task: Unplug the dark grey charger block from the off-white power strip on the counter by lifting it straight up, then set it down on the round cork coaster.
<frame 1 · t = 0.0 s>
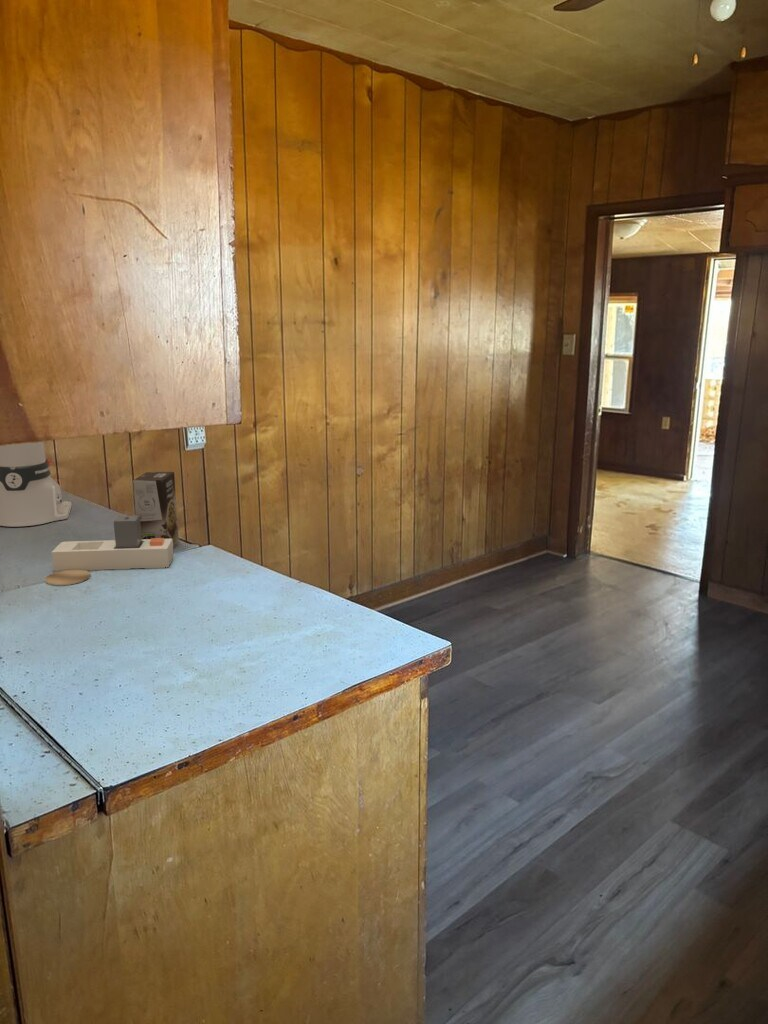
hand: (76, 297, 146), 52 cm above the countertop, tool tilted 20°, fingers open, 8 cm apart
coffee box: (159, 549, 162), on the countertop
power strip: (115, 563, 152), on the countertop
coaster: (68, 578, 143), on the countertop
charger: (129, 551, 152), point 2 cm above the countertop, touching power strip
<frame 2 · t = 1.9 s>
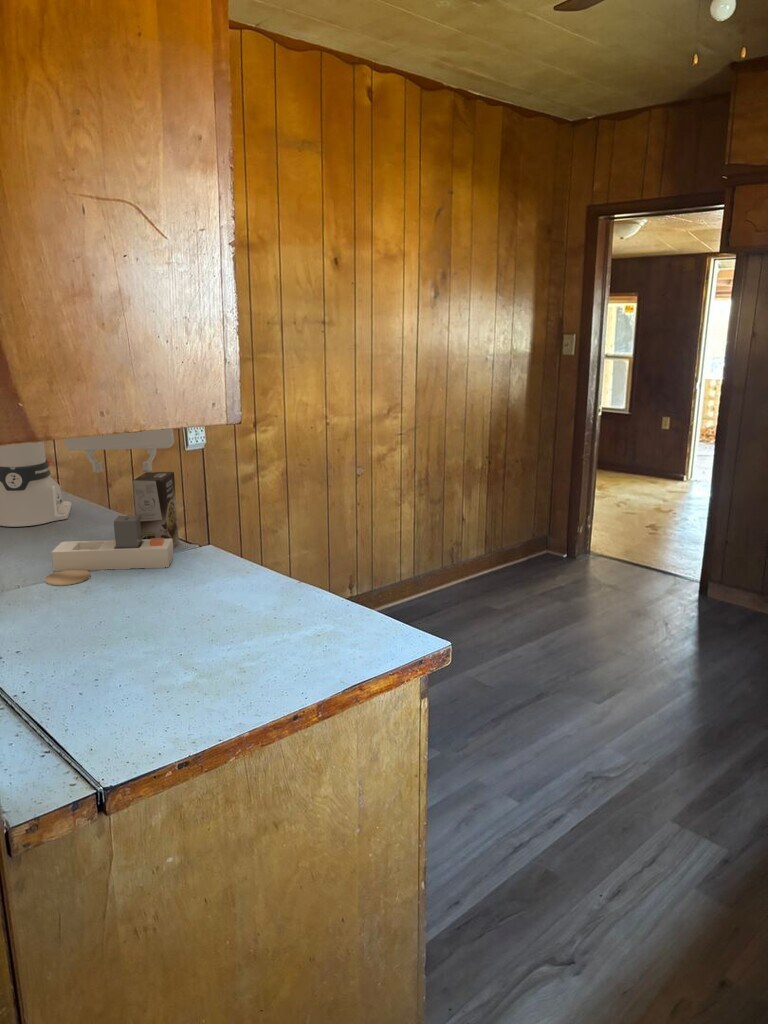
hand: (123, 471, 147), 19 cm above the countertop, tool pointing down, fingers open, 8 cm apart
nothing on the countertop moved.
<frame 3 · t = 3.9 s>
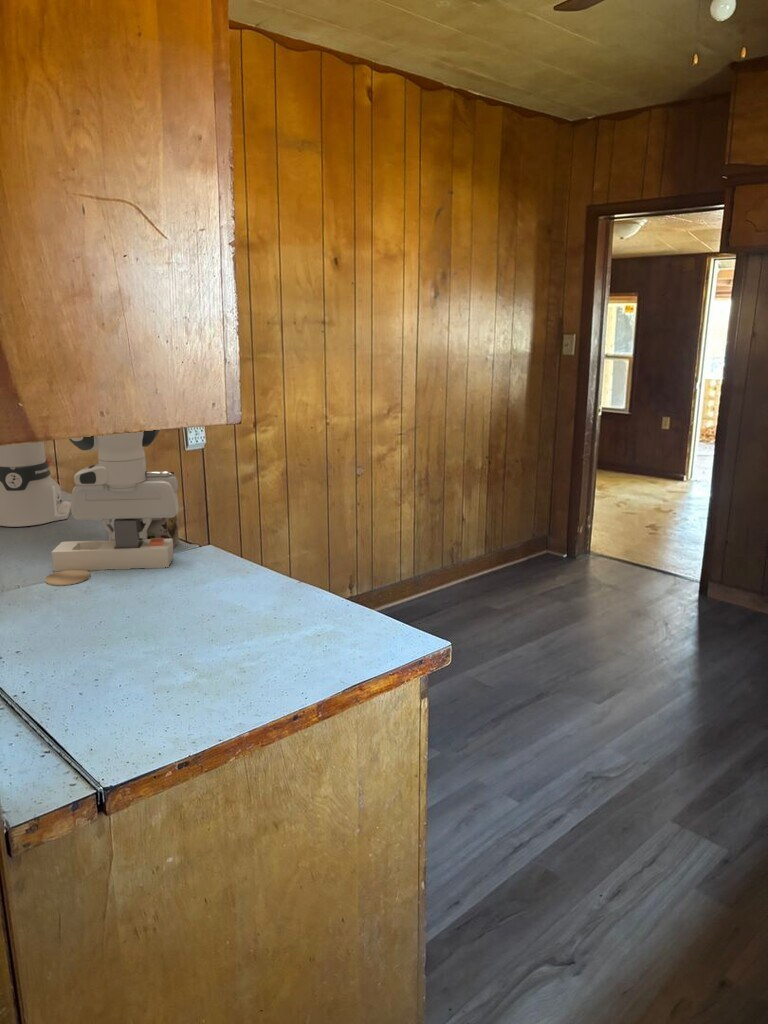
hand: (128, 539, 151), 5 cm above the countertop, tool pointing down, fingers closed on charger, 4 cm apart
charger: (129, 551, 152), point 2 cm above the countertop, touching gripper, power strip
everything else where it was.
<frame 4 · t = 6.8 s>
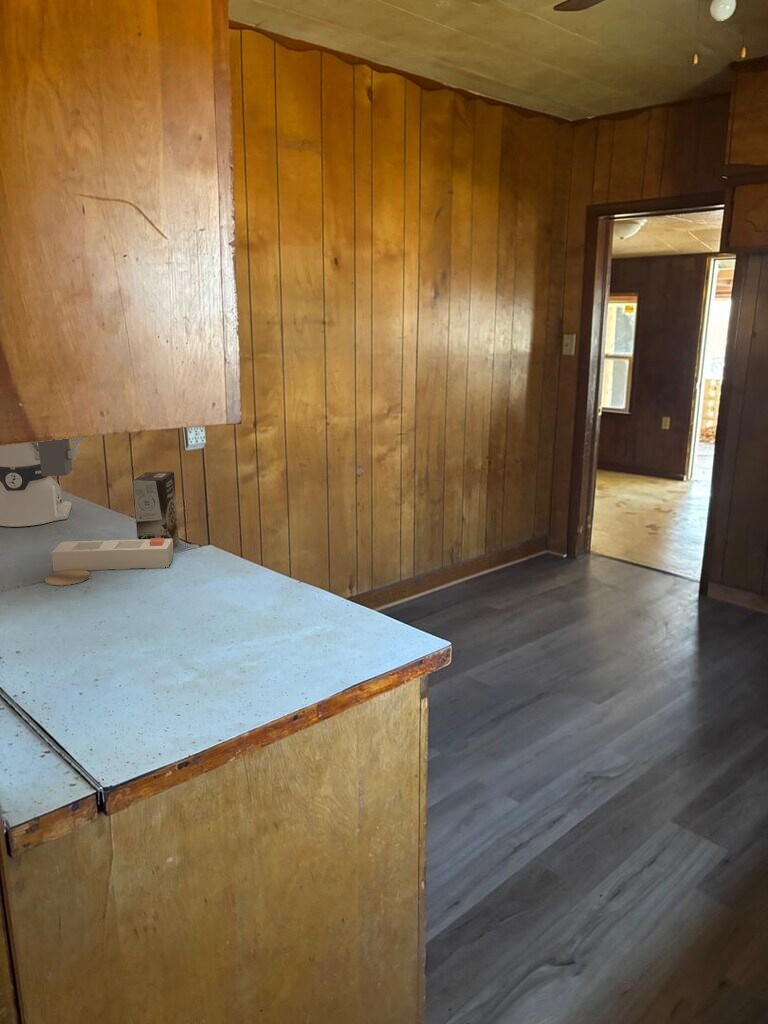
hand: (55, 459, 138), 23 cm above the countertop, tool pointing down, fingers closed on charger, 4 cm apart
charger: (57, 473, 138), point 20 cm above the countertop, touching gripper
everything else where it was.
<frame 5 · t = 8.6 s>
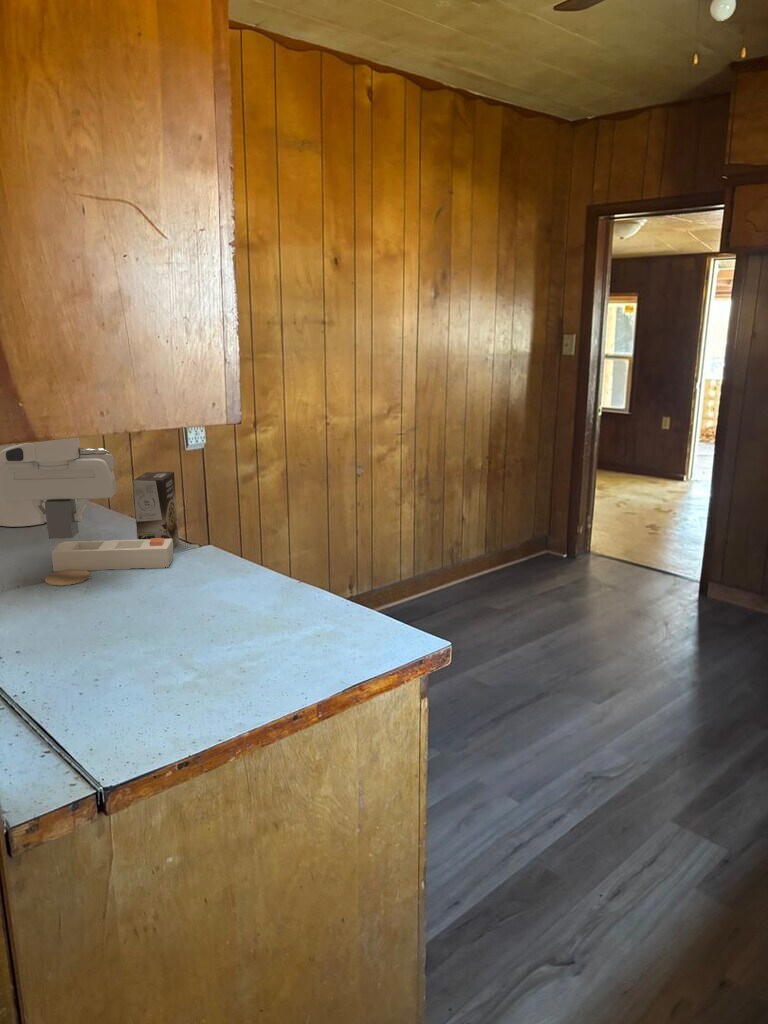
hand: (62, 522, 140), 11 cm above the countertop, tool pointing down, fingers closed on charger, 4 cm apart
charger: (63, 535, 141), point 9 cm above the countertop, touching gripper
everything else where it was.
when the fingers open (5 cm above the countertop, at t = 10.1 s): charger drops 1 cm, resting on coaster.
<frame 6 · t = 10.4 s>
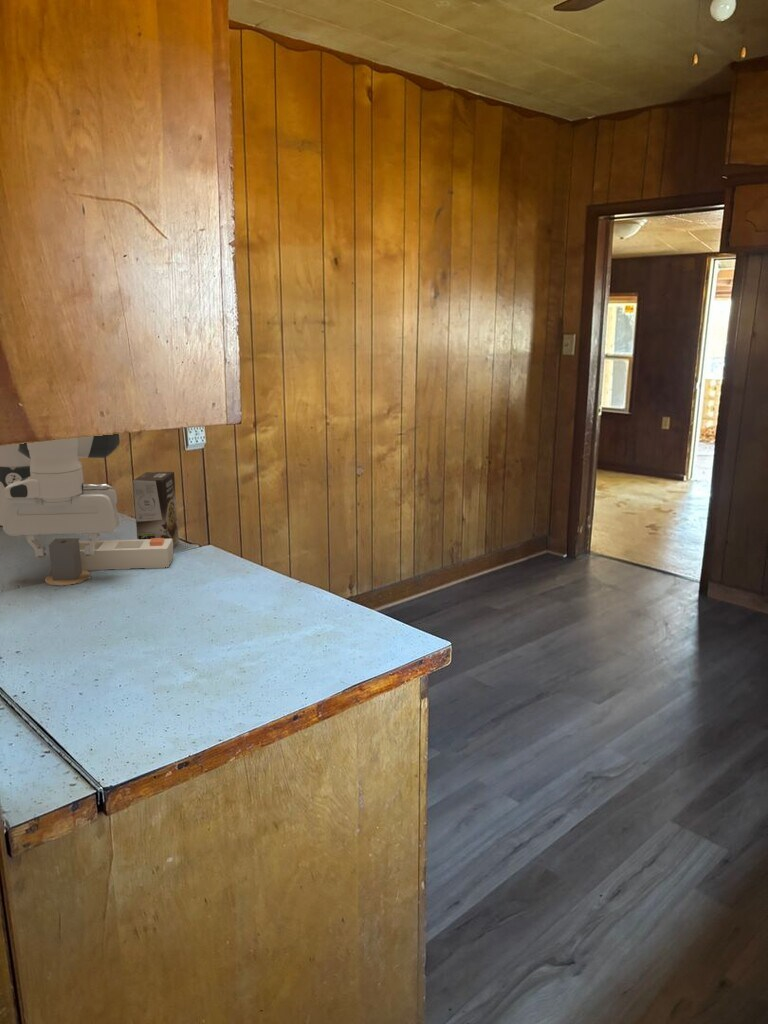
hand: (65, 555, 142), 5 cm above the countertop, tool pointing down, fingers open, 8 cm apart
charger: (67, 576, 143), resting on coaster
everything else where it was.
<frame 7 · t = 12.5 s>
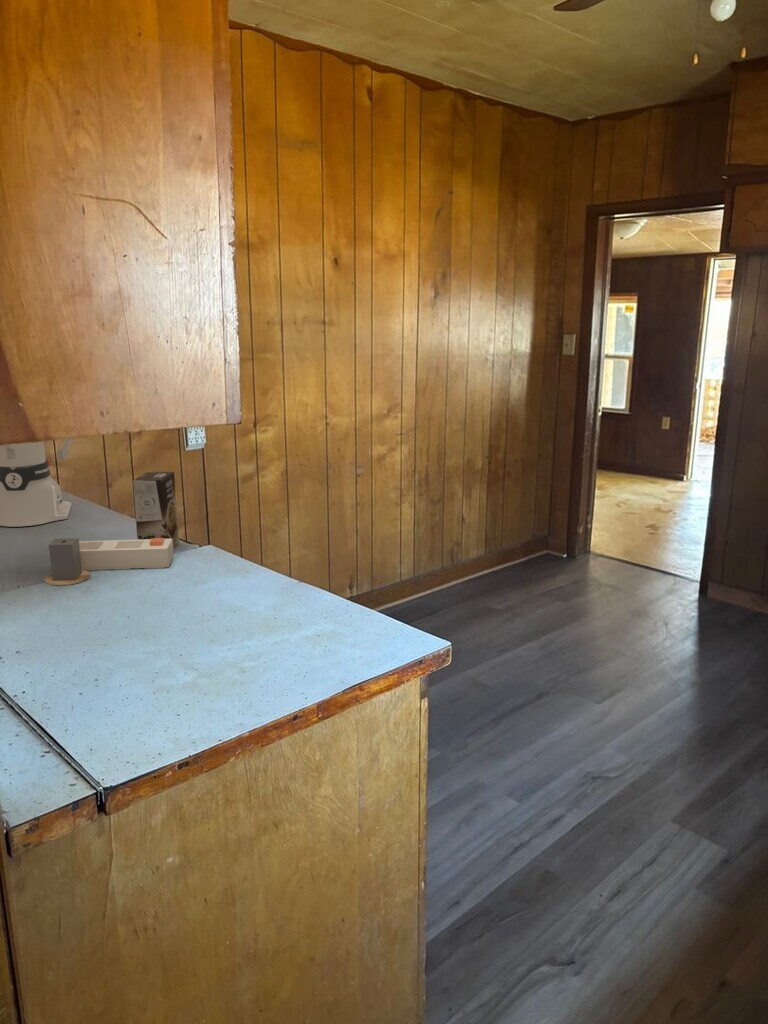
hand: (36, 458, 141), 23 cm above the countertop, tool pointing down, fingers open, 8 cm apart
nothing on the countertop moved.
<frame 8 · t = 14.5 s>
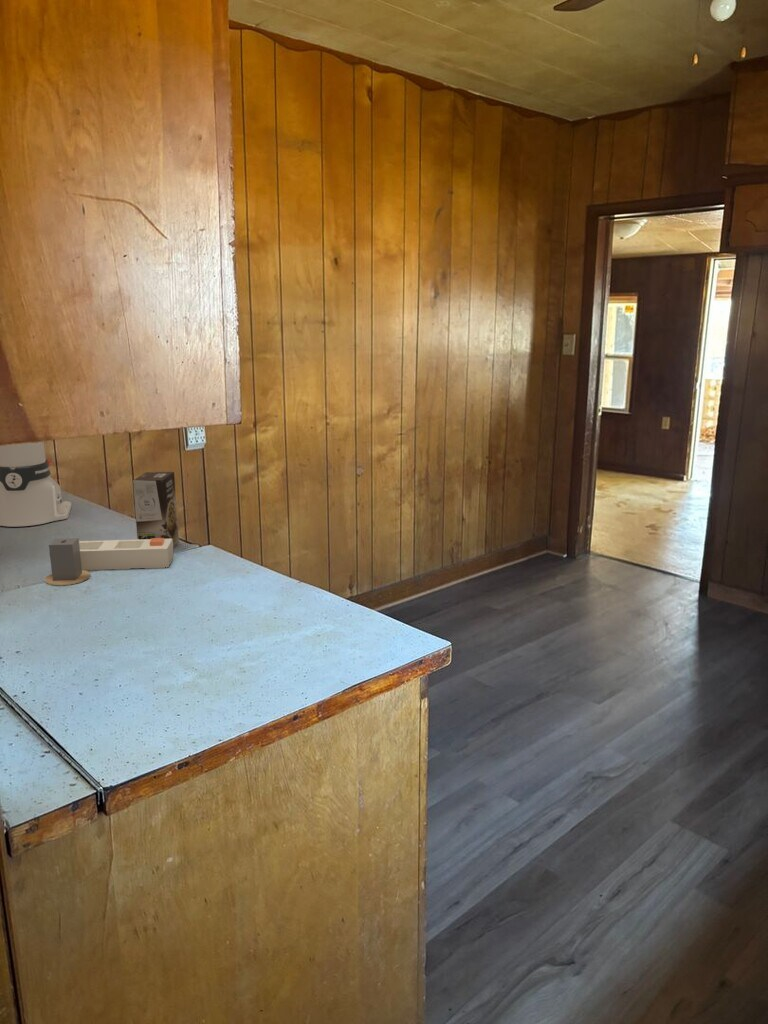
nothing on the countertop moved.
at the end: charger inside the target area on the coaster (0.1 cm from its centre), point 0.4 cm above the coaster's base; charger tilted 0°; charger touching coaster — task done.
